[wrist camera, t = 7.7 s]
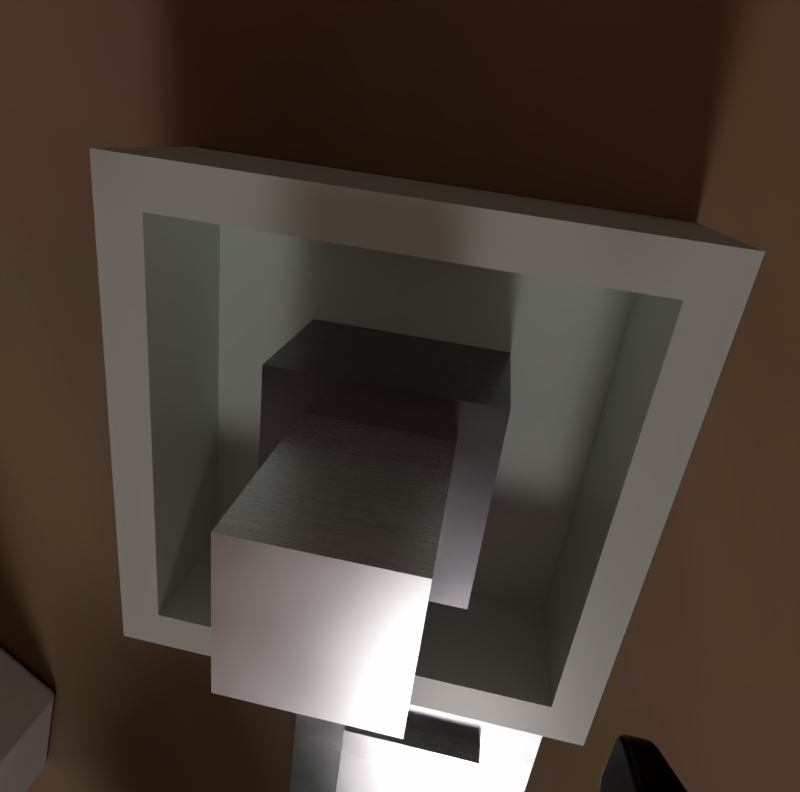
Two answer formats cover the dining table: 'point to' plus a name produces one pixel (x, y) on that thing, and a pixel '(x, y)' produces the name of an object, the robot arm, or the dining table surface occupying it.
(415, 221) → the bin
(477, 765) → the base
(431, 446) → the grey square peg
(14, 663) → the jar
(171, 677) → the dining table surface
